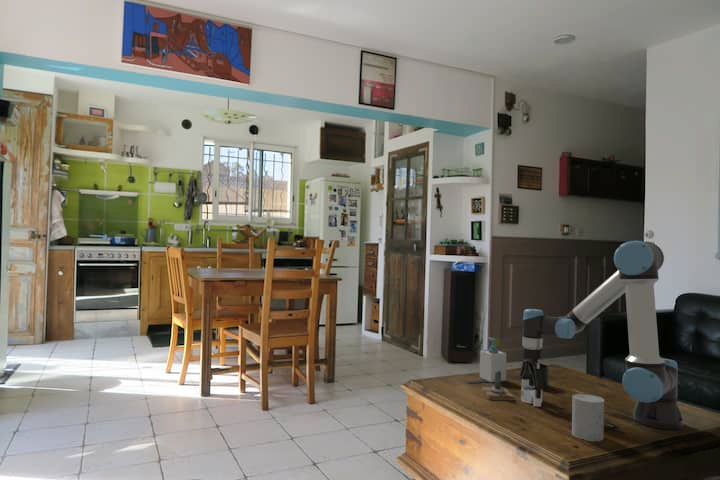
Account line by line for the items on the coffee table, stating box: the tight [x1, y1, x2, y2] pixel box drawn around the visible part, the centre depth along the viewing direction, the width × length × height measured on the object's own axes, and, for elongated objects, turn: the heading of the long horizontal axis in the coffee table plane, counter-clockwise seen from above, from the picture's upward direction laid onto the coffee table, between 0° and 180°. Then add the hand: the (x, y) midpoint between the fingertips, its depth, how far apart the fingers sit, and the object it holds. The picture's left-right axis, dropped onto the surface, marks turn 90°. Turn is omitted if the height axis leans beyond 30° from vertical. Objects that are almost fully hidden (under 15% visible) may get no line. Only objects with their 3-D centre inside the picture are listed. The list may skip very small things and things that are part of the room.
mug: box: [529, 363, 550, 389], centre depth 211 cm, size 9×12×9 cm
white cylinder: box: [571, 392, 606, 442], centre depth 153 cm, size 10×10×12 cm
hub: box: [520, 386, 543, 405], centre depth 188 cm, size 7×7×5 cm
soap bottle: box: [479, 336, 507, 383], centre depth 220 cm, size 9×9×19 cm
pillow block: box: [481, 371, 515, 401], centre depth 194 cm, size 12×10×10 cm
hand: (531, 400), depth 188 cm, fingers open, 13 cm apart
